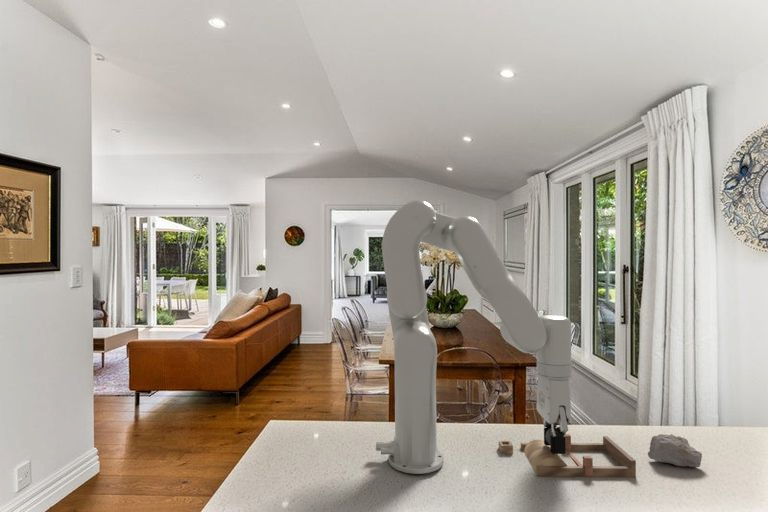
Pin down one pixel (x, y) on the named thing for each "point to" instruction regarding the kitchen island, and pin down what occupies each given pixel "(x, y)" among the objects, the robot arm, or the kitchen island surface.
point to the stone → (674, 451)
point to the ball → (548, 435)
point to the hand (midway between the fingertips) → (554, 448)
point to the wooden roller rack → (555, 466)
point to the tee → (505, 447)
